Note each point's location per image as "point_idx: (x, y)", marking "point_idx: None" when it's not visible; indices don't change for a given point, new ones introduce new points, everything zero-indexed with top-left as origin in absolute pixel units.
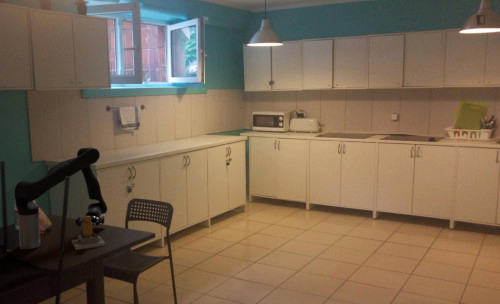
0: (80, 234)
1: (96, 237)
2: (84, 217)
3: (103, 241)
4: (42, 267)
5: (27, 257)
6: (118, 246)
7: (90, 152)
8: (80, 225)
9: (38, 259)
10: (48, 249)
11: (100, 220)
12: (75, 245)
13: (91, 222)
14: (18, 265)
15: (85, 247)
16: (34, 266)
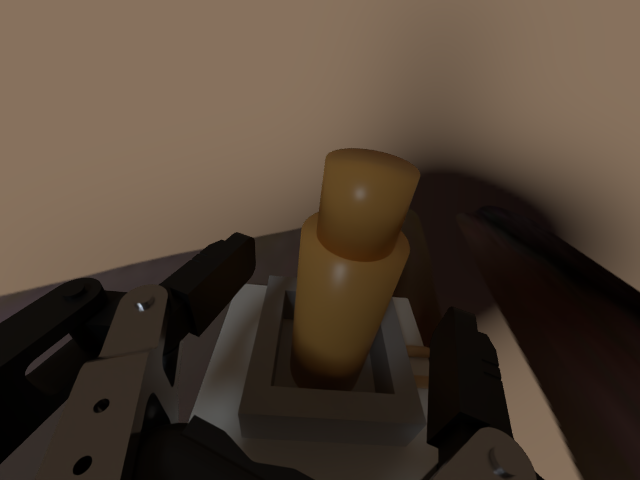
0: (398, 417)
1: (282, 279)
2: (409, 167)
3: (233, 304)
4: (491, 227)
5: (637, 337)
6: (189, 258)
7: None
8: (433, 357)
9: (552, 289)
10: (602, 425)
11: (131, 297)
12: (413, 323)
13: (314, 215)
14: (597, 271)
15: None
16: (524, 242)
